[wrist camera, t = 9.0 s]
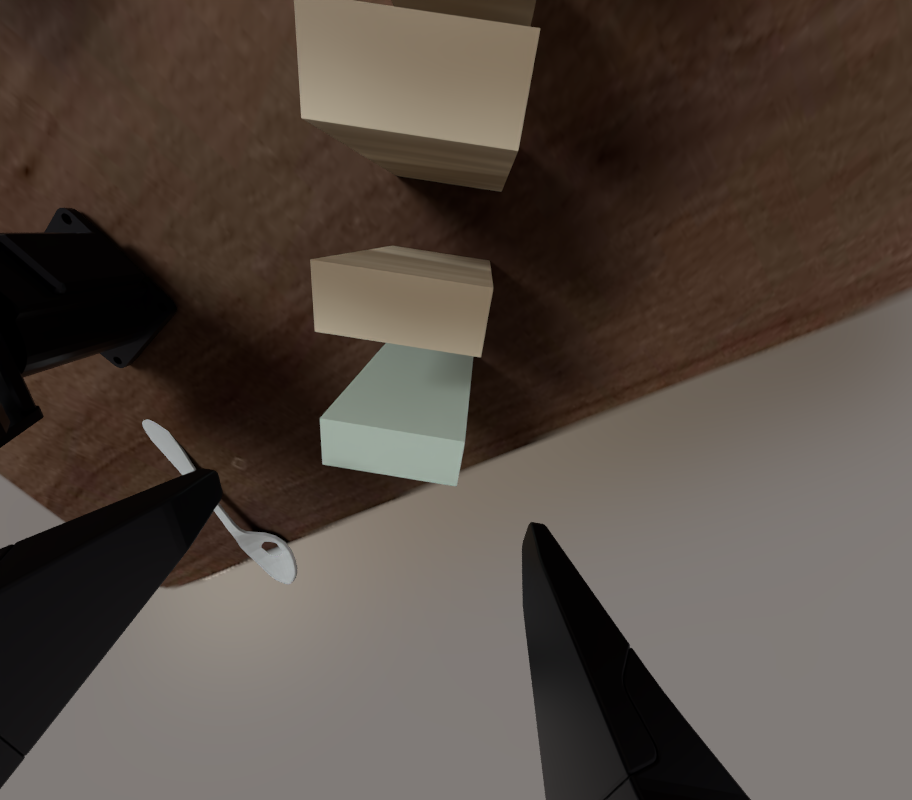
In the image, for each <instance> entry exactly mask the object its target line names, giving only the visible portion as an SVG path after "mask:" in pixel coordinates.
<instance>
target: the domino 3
mask: <svg viewBox="0 0 912 800" xmlns="http://www.w3.org/2000/svg"><path fill="white" fill-rule="evenodd" d="M472 365H473V356H468V355H461V354H455V353H448V352H442V351H436V350H429V349H423V348H417V347H410V346H404V345H398V344H391V343H386V344H385V345H384V346H383V347H382V348H381V349H380V350H379V351H378V353H377V354H376V355H375V356H374V357H373V358H372V359H371V361H370V362H369V363H368V364H367V365H366V366H365V367H364V368H363V370H362V371H361V372H360V373H359V374H358V375H357V376H356V378H355V379H354V380H353V381H352V382H351V383H350V384H349V386H348V387H347V388H346V389H345V390H344V391H343V392H342V393H341V395H340V396H339V397H338V398H337V399H336V400H335V401H334V403H333V404H332V405H331V406H330V407H329V408H328V409H327V410H326V412H325V413H324V414H323V415H322V416H321V417H320V432H321V449H322V464H323V465H329V466H335V467H341V468H347V469H353V470H359V471H365V472H371V473H377V474H383V475H390V476H396V477H402V478H408V479H414V480H420V481H426V482H432V483H438V484H444V485H451V486H457V481H458V476H459V471H460V466H461V460H462V455H463V449H464V444H465V436H466V426H467V416H468V406H469V396H470V386H471V376H472Z"/></svg>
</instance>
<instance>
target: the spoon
mask: <svg viewBox="0 0 912 800" xmlns="http://www.w3.org/2000/svg"><path fill="white" fill-rule="evenodd" d="M142 424H143V427H144V429H145V431H146V433H147V434H148V436H149V437H150V439H151V440H152V441H153V442H154V444H155V445H156V446H157V447H158V448H159V449H160V450H161V451H162V452H163V454H164V455H165V456H166V457H167V458H168V459H169V460H170V461H171V463H172V464H173V465H174V466H175V467H176V468H177V469H178V470H179V472H180V473H181V474H182V475H185V474H187V473H190V472H192V471H195V470H196V468H195V466H194V465H193V463H192V462H191V460H190V459H189V457H188V455H187V454H186V452H185V451H184V450H183V448H182V447H181V446H180V445H179V443H178V442H177V441H176V440H175V439H174V438H173V436H172V435H171V434H170V433H169V432H168V431H167V430H165V429H164V428H163V427H161V426H160V425H158V424H156V423H155V422H153V421H151V420H144V421H143V422H142ZM214 511H215V513H216V514H217V515H218V517H219V518H220V520H221V521H222V522H223V524H224V525H225V526H226V528H227V529H228V531H229V532H230V533H231V534H232V535H233V537H234V538H235V539H236V541H237V542H238V544H239V545H240V547H241V548H242V549H243V550H244V551H245V552H246V553H247V554H248V555H249V556H250V557H251V558H252V559H253V560H254V561H256V562H257V563H258V564H259V565H260V566H261V567H262V568H263V569H264V570H265V571H266V572H267V573H268V574H269V575H270V576H271V577H273V578H274V579H275V580H277V581H279V582H281V583H284V584H290V583H292V582H293V581H294V580H295V578H296V575H297V565H296V560H295V557H294V555H293V552H292V550H291V549H290V547H289V546H288V545H287V543H286V542H285V541H283V540H282V539H280V538H279V537H277V536H275V535H272V534H268V533H265V532H251V531H245V530H243V529H241V528H239V527H238V526H237V525H236V524H235V523H234V522H233V521H232V519H231V518H230V517H229V515H228V514H227V513H226V512H225V510H224V509H223V508H222V506H221V505H220V504H219V503H218V505H217V506H216V508H215V509H214ZM267 541H268V542H274V543H277V545H278V546H279V547H280V548H278V549H275V550H273V551H271V552H268V553H267V552H266V551H265V550H263V549H262V548H261V545H262V544H263V543H264V542H267Z"/></svg>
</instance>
